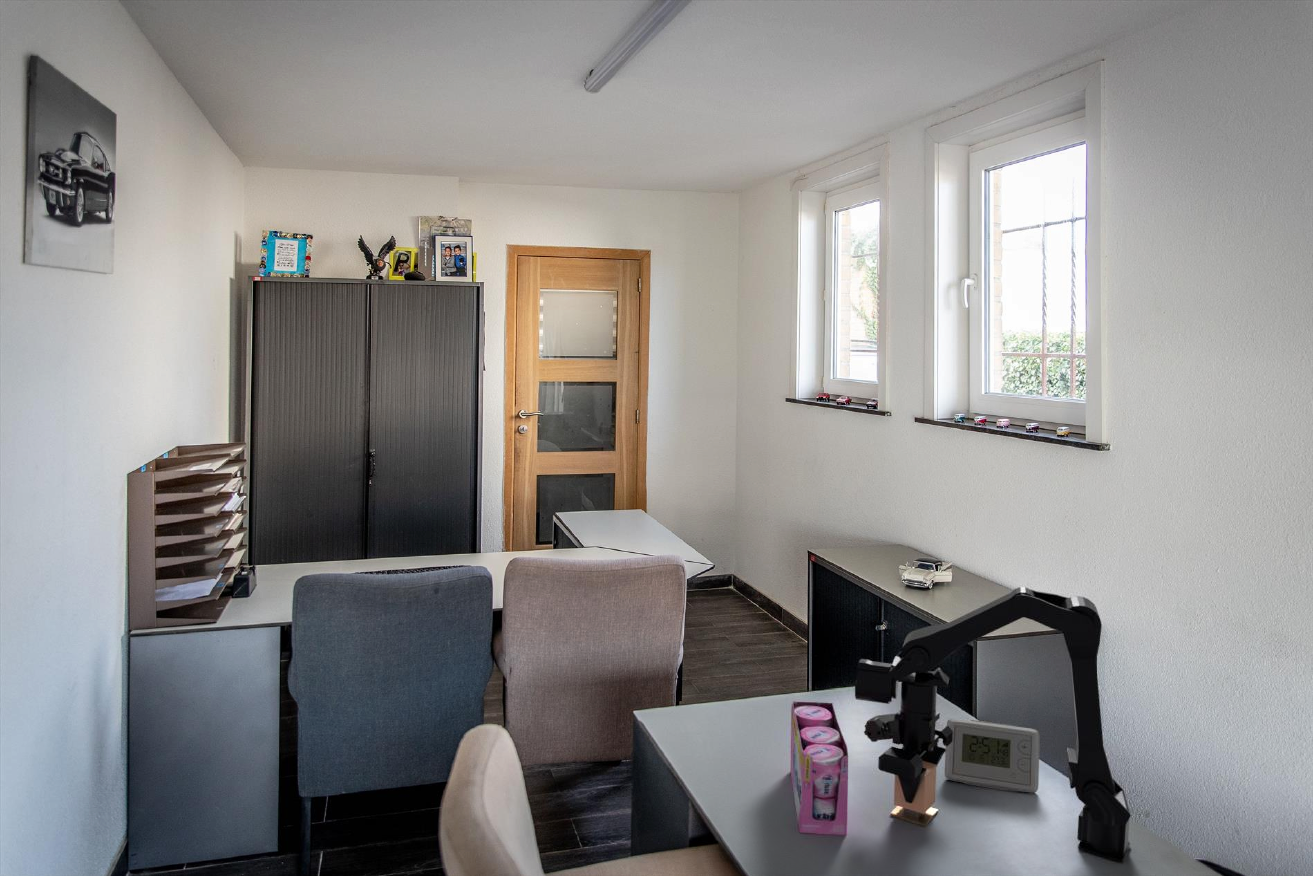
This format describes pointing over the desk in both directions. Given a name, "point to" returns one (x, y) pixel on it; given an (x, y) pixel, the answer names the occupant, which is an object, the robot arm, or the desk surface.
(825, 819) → the gum box
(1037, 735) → the digital clock
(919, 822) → the post on square base
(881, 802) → the desk surface
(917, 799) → the tan cardboard box
